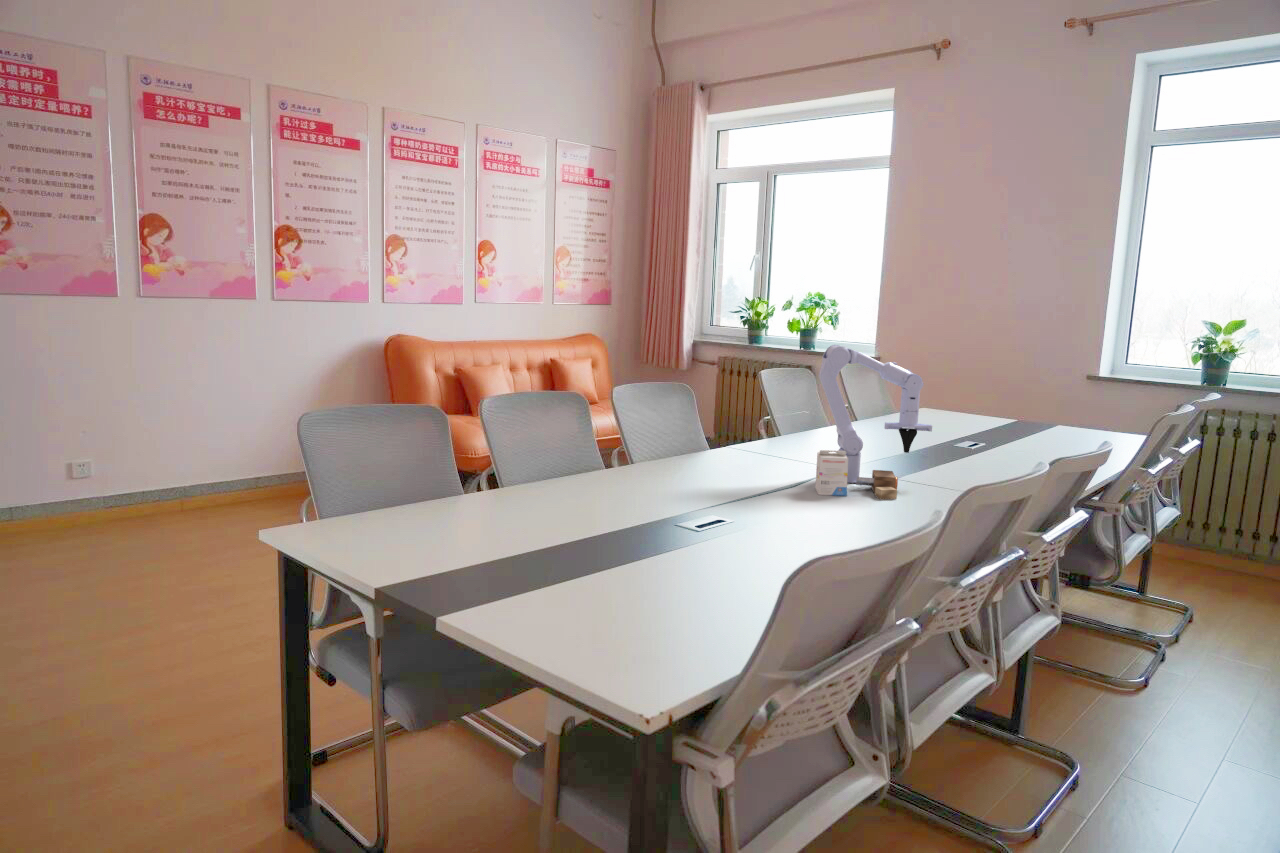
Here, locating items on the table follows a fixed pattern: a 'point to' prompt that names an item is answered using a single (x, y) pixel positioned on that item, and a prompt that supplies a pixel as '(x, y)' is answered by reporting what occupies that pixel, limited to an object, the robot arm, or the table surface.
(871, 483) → the pin
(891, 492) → the block
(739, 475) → the table surface
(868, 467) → the table surface
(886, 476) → the block
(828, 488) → the ink box
